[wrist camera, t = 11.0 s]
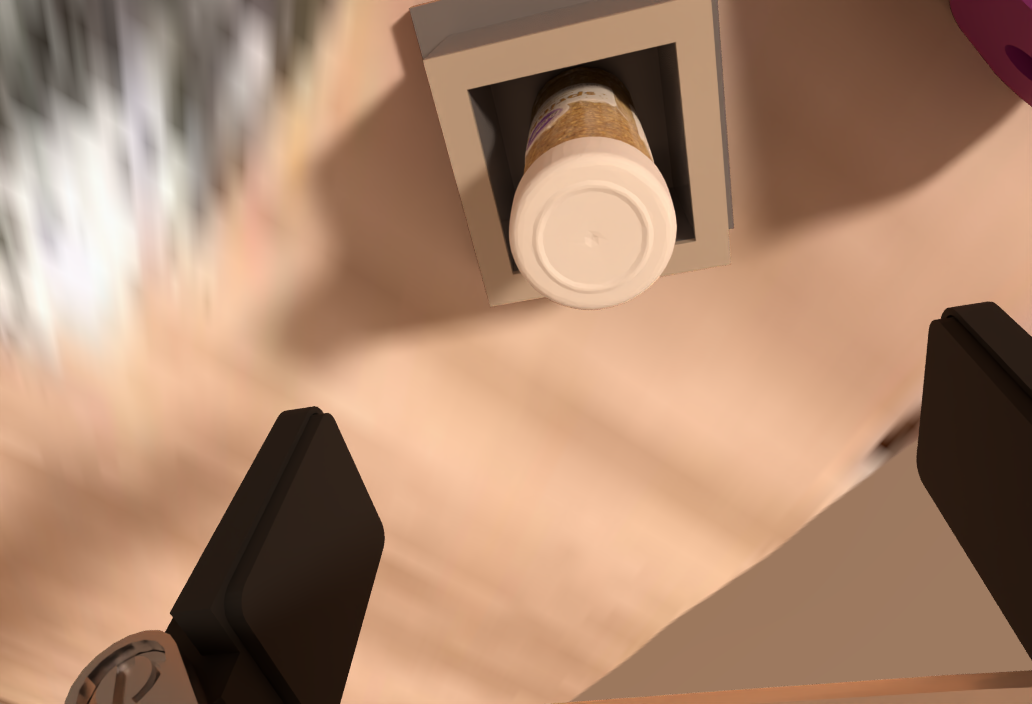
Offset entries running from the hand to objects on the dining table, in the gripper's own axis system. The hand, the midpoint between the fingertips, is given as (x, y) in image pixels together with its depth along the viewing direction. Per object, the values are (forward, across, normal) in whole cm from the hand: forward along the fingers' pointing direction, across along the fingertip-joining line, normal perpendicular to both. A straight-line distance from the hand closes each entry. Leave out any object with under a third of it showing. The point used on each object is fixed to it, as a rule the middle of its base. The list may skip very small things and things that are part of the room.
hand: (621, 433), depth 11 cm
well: (+23, 0, +1) cm, 23 cm away
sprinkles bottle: (+22, 0, +1) cm, 22 cm away
